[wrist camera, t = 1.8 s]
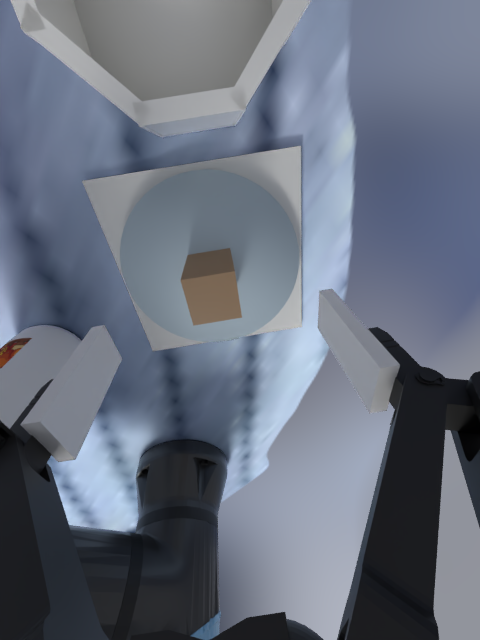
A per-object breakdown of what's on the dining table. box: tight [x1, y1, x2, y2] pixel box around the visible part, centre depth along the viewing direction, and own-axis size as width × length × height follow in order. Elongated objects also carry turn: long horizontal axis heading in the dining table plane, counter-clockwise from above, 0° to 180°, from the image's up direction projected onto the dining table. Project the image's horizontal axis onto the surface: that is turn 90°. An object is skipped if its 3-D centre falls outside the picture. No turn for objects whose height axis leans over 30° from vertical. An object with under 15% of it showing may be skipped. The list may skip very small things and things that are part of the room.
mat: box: [82, 146, 302, 351], centre depth 25 cm, size 18×18×1 cm
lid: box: [120, 169, 299, 342], centre depth 22 cm, size 17×17×7 cm
